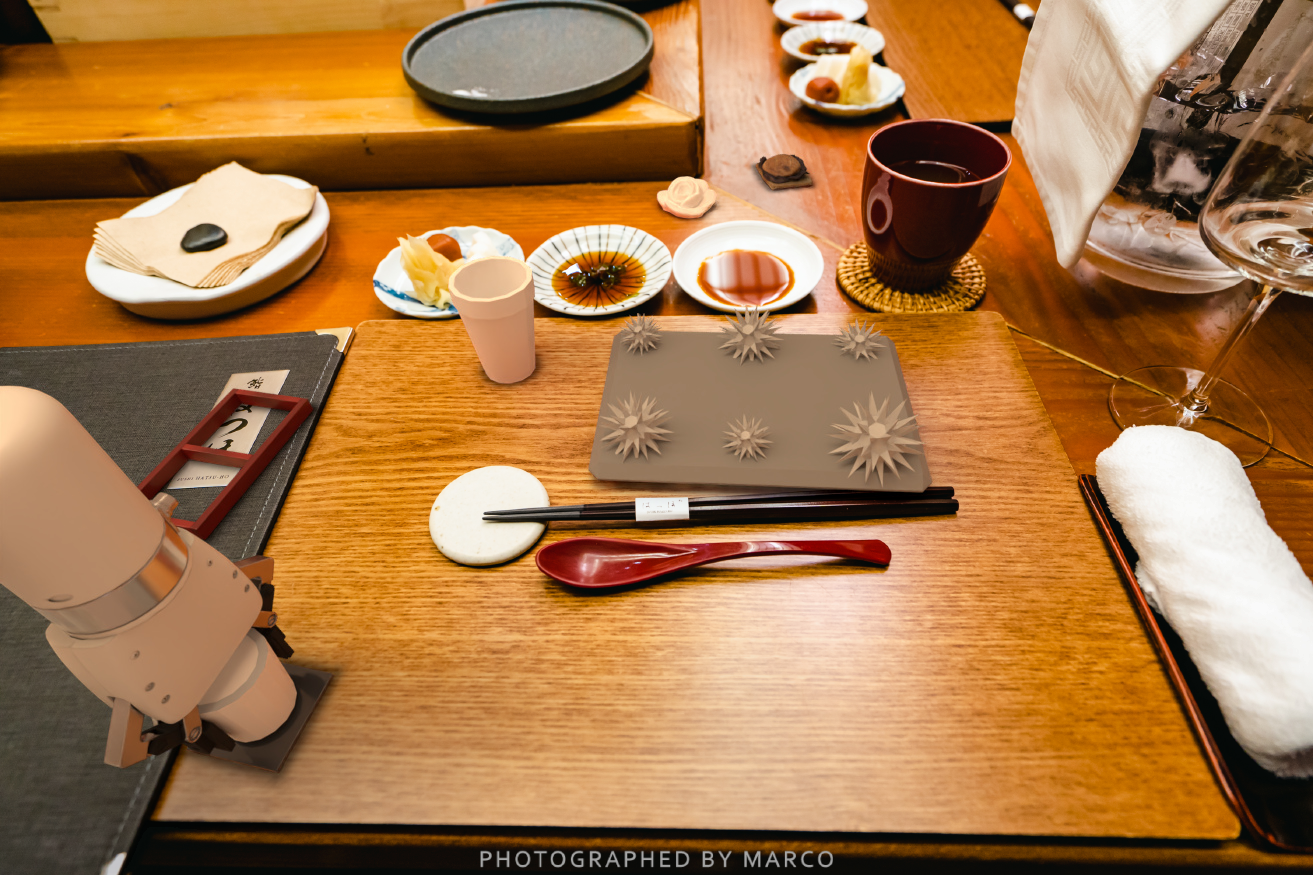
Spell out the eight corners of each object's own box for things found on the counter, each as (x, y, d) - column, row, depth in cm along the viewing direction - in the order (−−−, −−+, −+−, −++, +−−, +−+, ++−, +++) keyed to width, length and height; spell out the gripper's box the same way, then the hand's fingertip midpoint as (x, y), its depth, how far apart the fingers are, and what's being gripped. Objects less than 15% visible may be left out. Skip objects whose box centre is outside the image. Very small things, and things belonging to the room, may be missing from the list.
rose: (716, 167, 115) (718, 193, 108) (715, 192, 118) (717, 219, 111) (657, 167, 115) (655, 194, 108) (658, 192, 118) (656, 219, 112)
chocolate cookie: (815, 187, 119) (818, 166, 116) (768, 191, 118) (770, 170, 115) (796, 161, 126) (799, 141, 123) (752, 165, 125) (754, 145, 122)
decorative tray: (888, 349, 86) (907, 282, 79) (931, 510, 68) (960, 441, 61) (616, 342, 89) (610, 276, 82) (587, 495, 71) (577, 427, 64)
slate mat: (278, 773, 52) (276, 771, 52) (188, 750, 53) (186, 748, 53) (334, 675, 58) (332, 673, 57) (251, 657, 59) (249, 655, 59)
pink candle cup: (200, 707, 55) (152, 668, 50) (282, 650, 58) (245, 608, 53) (234, 769, 51) (185, 734, 46) (319, 705, 55) (283, 666, 50)
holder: (313, 409, 81) (308, 398, 80) (205, 540, 68) (196, 529, 67) (240, 398, 83) (233, 387, 81) (120, 524, 70) (109, 513, 68)
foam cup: (495, 338, 90) (474, 251, 81) (559, 350, 88) (545, 262, 79) (459, 384, 84) (432, 294, 74) (527, 398, 82) (508, 307, 72)
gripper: (161, 456, 47) (272, 593, 60) (-74, 696, 35) (126, 803, 48) (256, 472, 46) (348, 608, 59) (44, 726, 34) (217, 827, 47)
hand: (247, 695), depth 53 cm, fingers closed on pink candle cup, 6 cm apart
